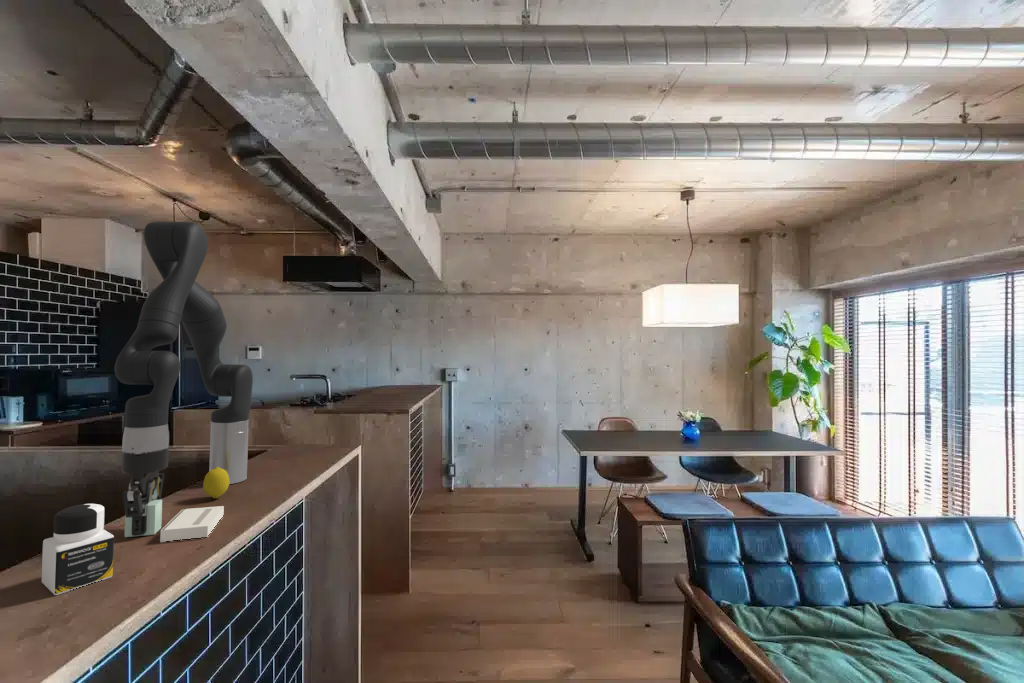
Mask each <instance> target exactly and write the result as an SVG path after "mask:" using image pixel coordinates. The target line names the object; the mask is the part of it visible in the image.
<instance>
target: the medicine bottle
mask: <svg viewBox="0 0 1024 683" xmlns="http://www.w3.org/2000/svg"><path fill="white" fill-rule="evenodd" d="M104 528H105V506H103V505H102V504H97V503H82V504H76V505H72V506H68V507H65V508H63V509H62V510H60V511H58V512H56V513H55V514H54V516H53V536H51V537H48V538H45V539H44V540H43V541H42V556H41V558H42V561H41V583H42V584H43V585H44V586H45V587H46V588H47V589H48V590H49V591H50V592H51V593H52V594H53V595H54V596H59V595H62V594H64V593H68V592H71V591H73V589H74V590H77V589H79V587H81V588H83V587H82V586H84V587H86V585H87V586H89V585H88V584H90V585H92V584H91V583H93V584H95V583H94V582H96V583H99V582H102V581H105V580H108V579H111V578H112V577H113V574H114V573H113V572H114V548H115V547H114V546H115V536H114V535H113V533H110V532H109V531H107V530H106V529H104ZM101 580H102V581H101ZM98 581H99V582H98ZM76 588H77V589H76ZM70 590H71V591H70Z"/></svg>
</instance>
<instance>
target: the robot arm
mask: <svg viewBox="0 0 1024 683" xmlns="http://www.w3.org/2000/svg"><path fill="white" fill-rule="evenodd" d="M143 238H144V239H143V240H144V243H145V247H146V250H147V251H148V252H147V253H148V254H149V256H150V258H151V260H152V262H153V263H154V265H155V267H156V269H157V271H158V272H159V275H160V276H161V278H162V280H163V281H161V283H159V285H157V286H156V287H155V288H154V289H153V290H152V291H151V292H150V293H149V295H147V297H146V299H145V300H144V303H143V305H142V308H141V311H140V313H139V314H140V315H139V319H138V322H137V326H136V329H135V331H134V332H133V333H132V335H131V337H130V338H129V339H128V341H127V343H126V344H125V345H124V347H123V348H122V350H121V352H120V353H119V354H118V355H117V358H116V360H115V364H114V373H115V374H114V375H115V377H116V378H117V380H118V381H119V382H120V383H122V384H123V385H124V384H125V385H130V386H131V385H140V386H141V385H149V386H151V385H152V386H153V388H152V390H151V392H150V393H149V394H145V395H139V396H134V397H131V398H129V399H128V400H127V401H126V403H125V407H124V429H123V435H122V444H121V446H122V447H121V448H122V450H121V472H122V473H123V474H125V475H130V476H131V480H130V482H129V485H128V490H124V491H122V501H123V508H124V515H125V514H126V518H127V517H132V535H133V536H132V537H138V536H137V535H143V534H145V533H146V523H147V509H148V504H149V503H151V500H162V492H163V486H164V480H165V477H166V476H165V475H166V474H165V473H164V472H162V473H159V472H161V471H163V470H165V469H167V468H168V466H169V456H170V455H169V450H170V447H169V446H170V431H169V424H168V423H169V408H170V403H171V402H170V401H171V399H172V398H171V397H172V394H173V391H174V388H175V385H176V383H177V380H178V378H179V375H180V371H181V361H180V358H179V357H178V355H177V354H176V353H174V352H172V351H170V350H152V349H154V348H156V347H157V348H158V347H160V346H164V345H169V344H172V343H174V342H175V341H176V340H177V337H178V334H179V329H180V326H181V323H182V325H183V328H184V330H185V332H186V334H187V336H188V338H189V341H190V344H191V345H192V349H193V352H194V354H195V357H196V360H197V363H198V366H199V369H200V371H199V372H200V373H201V377H202V381H203V383H204V387H205V389H206V391H207V392H208V393H209V394H210V395H211V396H214V397H226V398H227V397H228V398H230V402H229V404H227V405H226V406H224V407H220V408H218V409H215V410H213V411H212V412H211V415H210V436H209V437H210V438H209V441H210V442H209V471H211V470H212V469H214V468H215V467H219V468H222V469H224V470H225V471H227V473H228V475H229V485H233V484H237V483H241V482H244V481H246V480H247V478H248V477H247V476H248V475H247V474H248V451H249V422H250V419H249V418H250V410H251V406H252V395H253V394H252V393H253V392H252V391H253V382H254V379H253V378H254V375H253V372H252V368H250V366H249V365H247V364H228V363H226V364H225V363H222V361H221V359H220V357H219V351H218V350H219V347H220V345H221V343H222V341H223V338H224V336H225V335H226V331H227V320H226V318H225V315H224V312H223V309H222V306H221V304H220V302H219V301H218V300H217V299H216V297H215V296H214V295H213V294H212V293H210V292H209V291H208V290H207V289H206V288H205V287H203V286H202V285H201V284H199V283H198V282H197V281H196V279H197V277H198V275H199V273H200V270H201V268H202V266H203V263H204V261H205V259H206V256H207V252H208V245H209V243H208V242H209V241H208V236H207V235H206V231H205V230H204V228H203V227H202V226H201V225H200V224H199V223H196V222H192V221H151V222H149V223H147V224H146V225H145V227H144V230H143ZM209 471H208V472H209ZM142 505H143V506H142ZM136 508H137V510H136ZM143 536H144V535H143Z"/></svg>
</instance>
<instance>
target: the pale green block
mask: <svg viewBox="0 0 1024 683" xmlns="http://www.w3.org/2000/svg"><path fill="white" fill-rule="evenodd" d="M142 506H143V505H142ZM136 510H137V508H136ZM162 514H163V499H161V500H151V503H149V504H148V509H147V523H146V533H145V534H143V535H137V536H136V537H142V536H152V535H156V534H157V533H158V532H159V531H161V529H162V524H163V523H162V520H163V519H162V517H163V515H162ZM124 516H125V519H124V538H129V537H130V538H132V537H134V536H133V535H132V517H127V518H126V514H125V513H124Z"/></svg>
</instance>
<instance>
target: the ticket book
mask: <svg viewBox="0 0 1024 683" xmlns="http://www.w3.org/2000/svg"><path fill="white" fill-rule="evenodd" d="M224 508H225V506H224V505H221V506H219V505H218V506H208V507H194V508H193V507H192V508H183V509H181V510H180V511H179V512H178V513H177V514H176V515H175V516H174V517H173V518H171V519H170V521H169V522H168V523H166V524H165V526H163V527H161V529H160V535H159V536H160V538H159V541H160V543H167V542H166V541H170V542H174V541H173V540H180V539H181V540H180V541H183V540H182V539H191V538H201V537H209V536H210V535H211V534H212V532H213V531H214V530H215V528H216V527H217V526H218V525H217V523H218V522H219V520H220V519H221V518H222V517H223V515H225V514H224V513H225V511H224V510H225V509H224ZM223 518H224V517H223ZM223 518H222V519H223ZM222 519H221V520H222ZM219 523H220V522H219ZM219 523H218V524H219ZM216 525H217V526H216ZM215 526H216V527H215ZM214 527H215V528H214ZM213 529H214V530H213ZM212 530H213V531H212ZM211 531H212V532H211ZM210 533H211V534H210ZM209 534H210V535H209ZM208 535H209V536H208ZM201 539H202V538H201ZM191 540H192V539H191Z"/></svg>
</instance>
